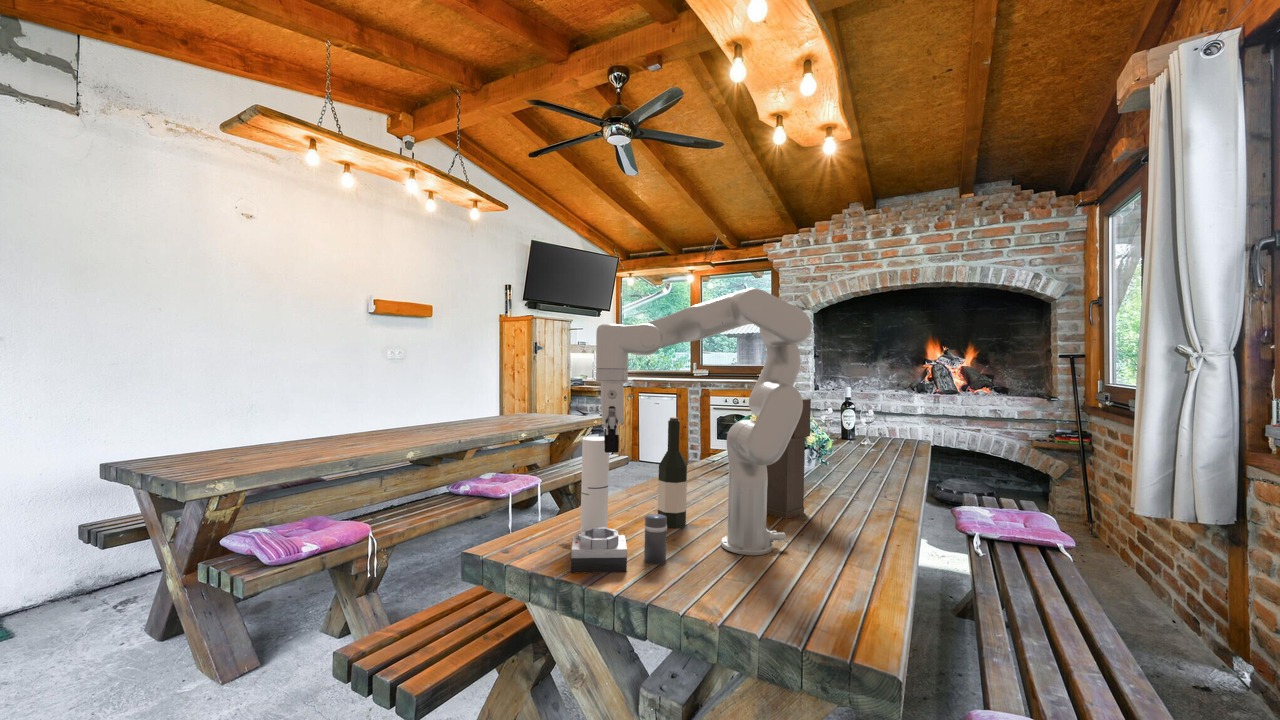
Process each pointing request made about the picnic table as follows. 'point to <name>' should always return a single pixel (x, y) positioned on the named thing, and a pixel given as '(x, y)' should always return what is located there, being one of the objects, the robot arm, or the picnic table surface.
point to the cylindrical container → (594, 483)
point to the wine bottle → (673, 480)
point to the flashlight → (655, 539)
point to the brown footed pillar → (789, 472)
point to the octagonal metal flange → (599, 551)
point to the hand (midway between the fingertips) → (611, 448)
